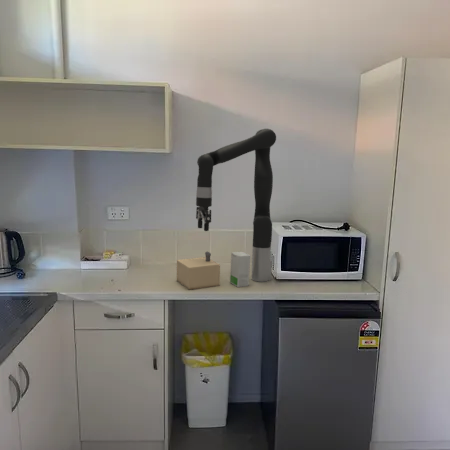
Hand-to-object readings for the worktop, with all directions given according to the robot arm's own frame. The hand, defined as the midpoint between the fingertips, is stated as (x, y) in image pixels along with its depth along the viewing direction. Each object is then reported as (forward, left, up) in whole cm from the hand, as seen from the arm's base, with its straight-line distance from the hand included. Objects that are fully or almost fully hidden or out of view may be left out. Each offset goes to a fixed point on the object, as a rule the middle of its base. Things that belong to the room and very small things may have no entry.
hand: (203, 229), depth 200 cm
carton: (+3, +2, -26) cm, 27 cm away
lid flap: (+3, +2, -16) cm, 17 cm away
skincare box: (-15, +12, -27) cm, 33 cm away
